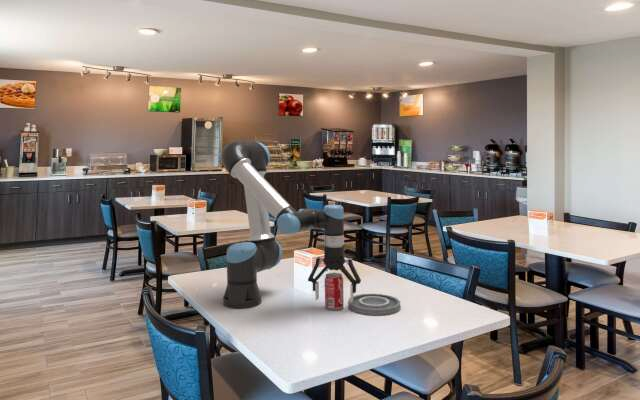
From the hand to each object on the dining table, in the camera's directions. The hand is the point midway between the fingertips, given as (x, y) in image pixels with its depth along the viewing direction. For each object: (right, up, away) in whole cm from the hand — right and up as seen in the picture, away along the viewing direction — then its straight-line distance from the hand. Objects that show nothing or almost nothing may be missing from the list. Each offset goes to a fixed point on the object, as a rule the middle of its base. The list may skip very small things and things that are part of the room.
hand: (334, 300), depth 181 cm
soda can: (0, -3, 0) cm, 3 cm away
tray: (+15, -3, +1) cm, 16 cm away
